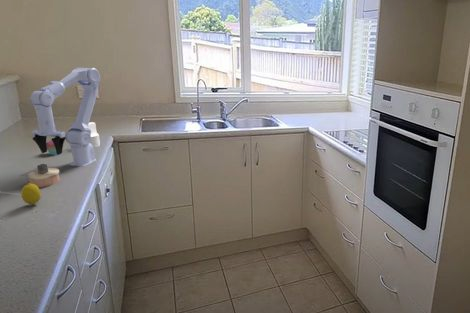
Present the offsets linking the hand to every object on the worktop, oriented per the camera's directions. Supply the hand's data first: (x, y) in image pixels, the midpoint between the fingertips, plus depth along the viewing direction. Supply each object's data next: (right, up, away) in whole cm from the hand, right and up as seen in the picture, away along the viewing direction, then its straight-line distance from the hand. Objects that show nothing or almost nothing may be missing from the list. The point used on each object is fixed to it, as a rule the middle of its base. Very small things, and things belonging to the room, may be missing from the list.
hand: (52, 153), depth 139 cm
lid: (+1, -9, -7) cm, 11 cm away
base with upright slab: (-2, +4, +43) cm, 43 cm away
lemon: (+7, -18, -24) cm, 31 cm away
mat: (-7, -8, +5) cm, 12 cm away
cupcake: (-14, 0, +29) cm, 33 cm away
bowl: (+1, -12, -6) cm, 13 cm away
